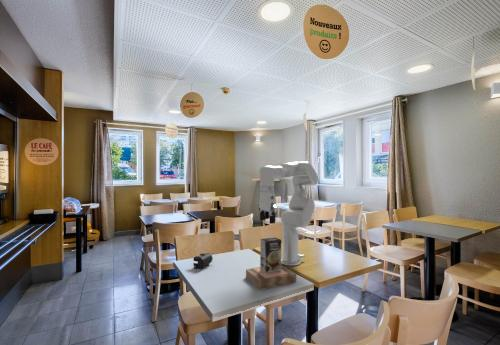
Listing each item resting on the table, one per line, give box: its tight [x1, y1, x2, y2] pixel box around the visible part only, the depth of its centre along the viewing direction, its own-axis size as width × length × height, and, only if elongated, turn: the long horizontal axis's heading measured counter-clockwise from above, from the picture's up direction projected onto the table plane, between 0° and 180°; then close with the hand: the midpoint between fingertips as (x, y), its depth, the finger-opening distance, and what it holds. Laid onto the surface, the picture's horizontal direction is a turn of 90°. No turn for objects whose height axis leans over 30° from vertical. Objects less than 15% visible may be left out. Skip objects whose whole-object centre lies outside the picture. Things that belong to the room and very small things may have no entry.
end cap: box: [192, 252, 213, 270], centre depth 146 cm, size 10×7×7 cm
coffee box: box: [259, 237, 282, 274], centre depth 128 cm, size 9×6×16 cm
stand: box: [245, 264, 297, 291], centre depth 127 cm, size 20×16×4 cm
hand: (267, 221), depth 133 cm, fingers open, 9 cm apart
